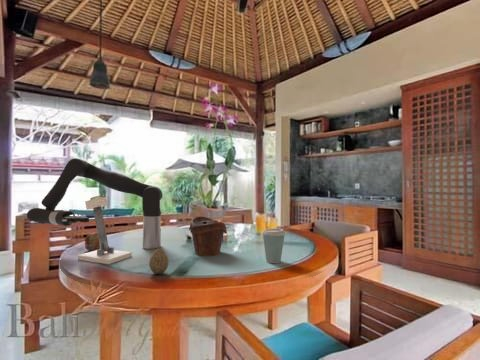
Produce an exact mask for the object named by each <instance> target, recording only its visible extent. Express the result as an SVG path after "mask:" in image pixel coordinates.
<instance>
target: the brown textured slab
mask: <svg viewBox="0 0 480 360" xmlns="http://www.w3.org/2000/svg"><path fill="white" fill-rule="evenodd" d="M84 247H85V249H86V251H95V250H98V249H100V245H99V239H98V233H97V231H95V232H92V233H89V234H88V235H86V237H85V240H84Z"/></svg>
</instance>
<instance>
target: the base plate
mask: <svg viewBox="0 0 480 360" xmlns="http://www.w3.org/2000/svg"><path fill="white" fill-rule="evenodd" d="M114 248H115V247H113V246H109V251H106V252H104V250H101V249H100V248H97V249H95V250H91V251H89V252H85V253H80V254H77V260H79V261H86V262H91V263H98V264H103V265H110V264H113V263H116V262H119V261H122V260H126V259H127V258H132V251H125V250H116V249H114Z"/></svg>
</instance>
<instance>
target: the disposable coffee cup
mask: <svg viewBox="0 0 480 360" xmlns="http://www.w3.org/2000/svg"><path fill="white" fill-rule="evenodd" d="M261 232H262V233H261V234H262V239H263V247H264V255H265V260H266V262H267V263H269V264H279V263H280V262H281V260H282V254H283V247H284V241H285V236H286V233H285V230H284V229H283V228H280V227H279V228H277V227H274V228H266V229H263V231H261Z"/></svg>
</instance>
